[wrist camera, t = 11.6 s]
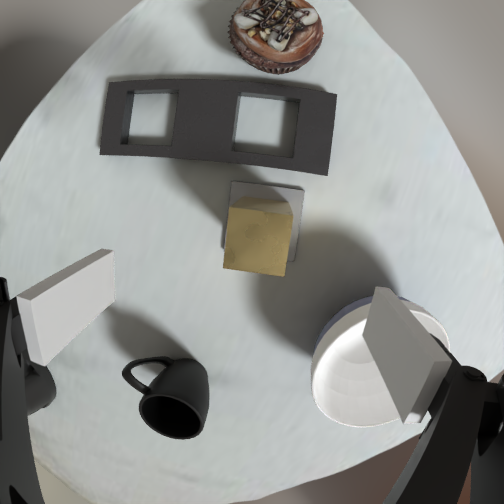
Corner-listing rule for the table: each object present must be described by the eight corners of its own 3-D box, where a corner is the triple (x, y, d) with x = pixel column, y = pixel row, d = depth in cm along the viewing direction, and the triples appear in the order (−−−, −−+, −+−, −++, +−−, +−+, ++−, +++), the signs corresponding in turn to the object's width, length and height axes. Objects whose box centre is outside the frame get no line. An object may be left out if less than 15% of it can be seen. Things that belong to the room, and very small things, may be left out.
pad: (224, 250, 36) (223, 251, 35) (232, 180, 34) (231, 181, 33) (293, 259, 36) (293, 261, 35) (304, 190, 33) (304, 190, 33)
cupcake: (332, 36, 28) (350, -4, 19) (290, 97, 31) (296, 69, 21) (261, 1, 28) (256, -45, 18) (217, 59, 30) (197, 23, 21)
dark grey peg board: (107, 155, 34) (99, 154, 32) (117, 85, 32) (109, 82, 30) (324, 175, 33) (327, 175, 31) (333, 98, 30) (337, 94, 29)
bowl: (281, 353, 39) (281, 401, 30) (352, 251, 35) (377, 280, 26) (370, 394, 40) (386, 439, 31) (439, 309, 36) (473, 344, 27)
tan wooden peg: (237, 240, 35) (223, 268, 25) (242, 196, 34) (229, 207, 24) (282, 246, 35) (284, 276, 25) (288, 202, 33) (293, 215, 24)
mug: (167, 319, 39) (140, 359, 30) (229, 379, 41) (218, 427, 32) (132, 348, 41) (103, 387, 32) (190, 402, 43) (174, 446, 34)
